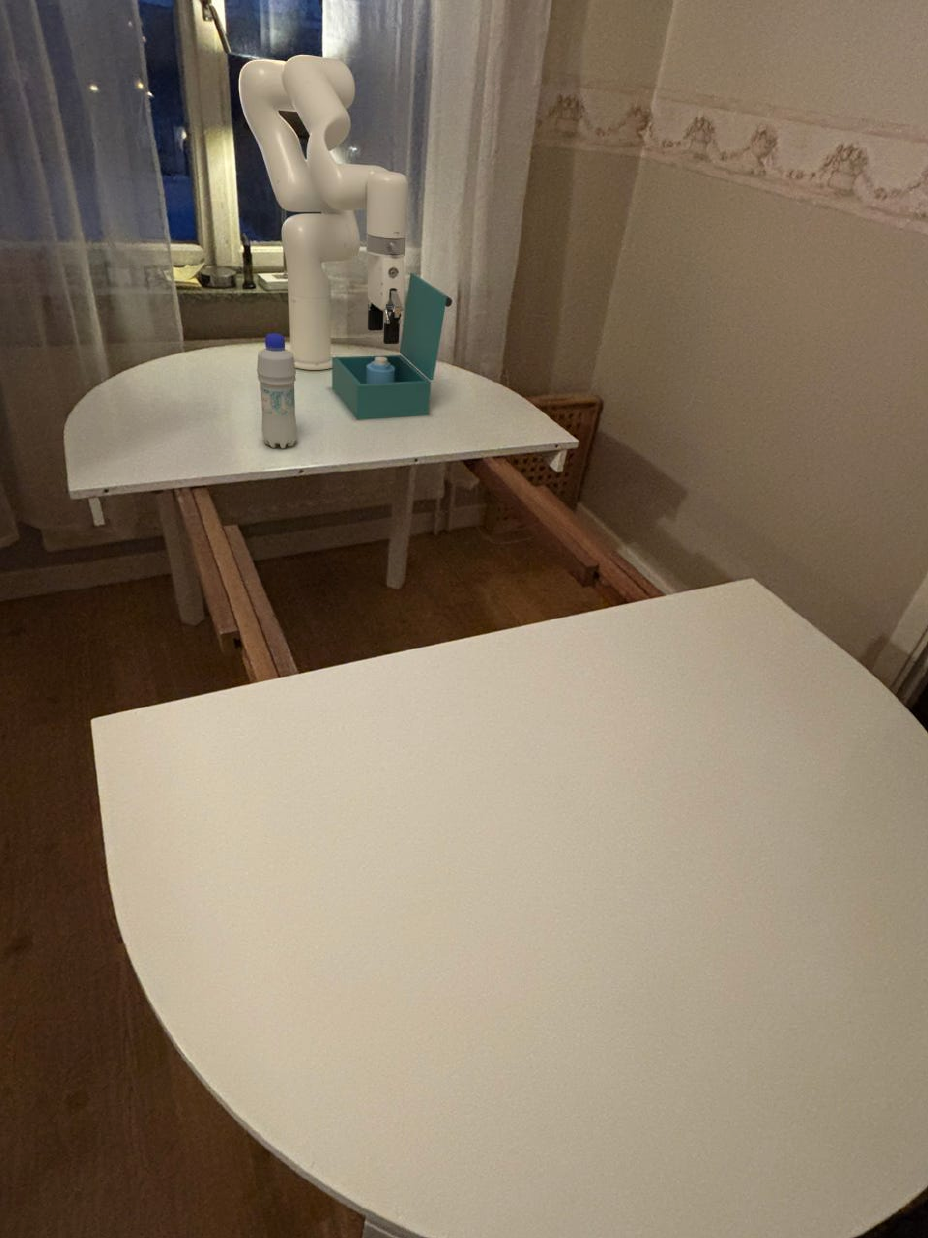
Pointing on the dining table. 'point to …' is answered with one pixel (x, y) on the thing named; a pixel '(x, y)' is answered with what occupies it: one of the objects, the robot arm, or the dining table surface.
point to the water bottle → (380, 371)
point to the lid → (423, 324)
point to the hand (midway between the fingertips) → (383, 336)
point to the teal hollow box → (380, 388)
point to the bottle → (277, 392)
